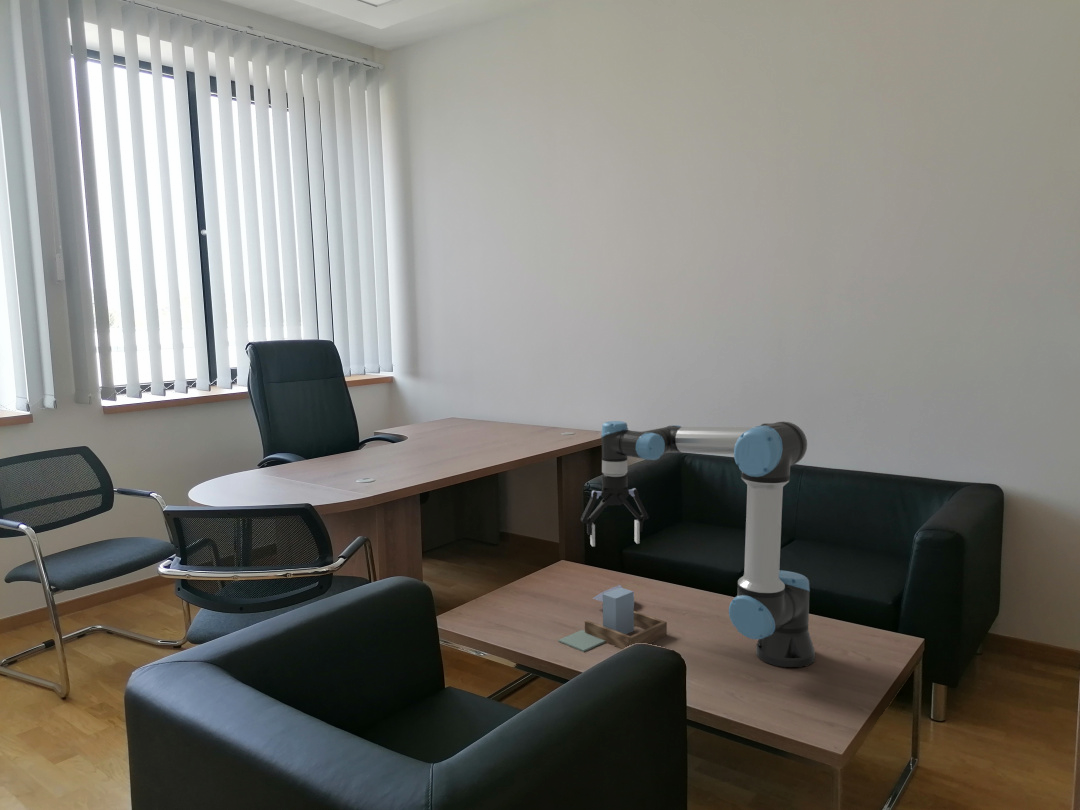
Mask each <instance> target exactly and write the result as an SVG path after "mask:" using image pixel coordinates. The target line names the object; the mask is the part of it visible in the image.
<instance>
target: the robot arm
mask: <svg viewBox="0 0 1080 810" xmlns="http://www.w3.org/2000/svg"><path fill="white" fill-rule="evenodd" d="M600 438H601V473H602V474H601V489H600V490H601V491H599V490H598V491H597V490H594V489H591V492H590V497H589V501H587V505H586V507H585V509H584V511H583V513H582V515H581V517H580V521H581V522H582V523H583V524H586V533H587V535H588V536H589V539H590V541H589V542H590V545H591V547H596V524H594V522H595V521H596V520H597V518H598V517H599V516H600V515H601V514H602V512H603V511H604V510H605V509H606V508H607V507H608V506H612V507H613V506H621V505H622V504H623V505H624V506H625V507H626V508H627V509H628V511H629V512H631V513H632V515H633V516H634V518H636V519H634V521H633V522H634V537H633V539H634V542H635V543H636V544H637V545H638V544H640V543H641V542H640V541H641V540H640V532H641V533H642V532H643V528H644V527H643V525H644V521H645V520H649V519H650V515H648V512H647V510H646V508H645V506H644V504H643V502H642V500H641V499H640V495H639V490H638V489H637V488H636V487H632V488H631V489H628V483H629V482H628V475H627V473H628V457H630V458H638V459H642V460H645V461H648V460H650V461H651V460H652V461H656V460H659V459H661V458H660V457H661V456H663V455H664V454H668V453H677V454H678V453H681V454H682V453H687V454H690V453H691V454H714V455H715V454H716V455H733V458H734V461H735V464H736V465H737V466H738V469H739V470H740V471H741V480H742V481H743V482H744V483H745V484H746V485H747V486H746V487H747V488H746V490H747V491H746V510H745V511H746V512H745V513H746V514H745V516H746V518H745V520H746V521H745V541H744V542H745V545H744V570H743V571H744V572H743V573H744V574H743V576H741V577H739V579H738V580H737V595H736V596H735V597H734V598H733V599H732V600H731V601H730V603H729V607H728V615H729V619H730V621H731V624H732V625H733V627H735V628H736V630H737V632H739V633H740V634H741V635H742V636H744V637H745V638H748V639H751V640H757V643H756V646H755V647H756V650H755V654H756V656H757V658H758V659H759V660H761V661H763V662H764V663H766V664H769V665H771V664H772V666H775V667H779V666H780V667H779V668H786V667H799V668H802V667H801V666H805V667H807V666H806V665H808V664H810V665H812V664H813V663H814V662H815V657H816V651H815V647H814V645H813V641H812V638H811V635H810V632H809V620H810V619H809V618H810V613H809V612H810V592H811V589H810V580H809V579H808V577H806V576H805V575H803V574H801V573H798V572H795V571H789V570H782V569H781V570H780V565H781V564H780V562H781V561H780V559H781V539H782V538H781V537H782V517H783V516H782V514H783V513H782V511H783V496H784V495H783V493H784V492H783V491H784V490H783V489H784V486H786V485H787V484H788V483H789V482H790V479H791V475H790V474H791V466H794V465H797V463H799V462H800V461H801V460H802V459H803V458H804V456H805V455H806V453H807V450H808V440H807V436H806V434H805V432H804V431H803V429H802V428H801V427H799V426H798V425H797V424H795V423H793V422H789V421H777V422H774V423H773V422H771V423H761V424H760V425H758V426H754V427H751V426H750V427H749V426H747V427H746V426H736V427H735V426H681V425H673V424H672V425H668V426H665V427H664V426H663V427H660V428H654V429H649V430H644V431H637V430H629V428H628V423H627V422H625V421H620V420H612V421H610V420H609V421H605V422H604V423H603V424H602V427H601V436H600ZM629 495H630V496H631V497H633V500H634V502H635V504H636V505H637V507H638V510H639V512H640V514H641V515H640V514H639V512H638V511H636V509H635V508H634V507H633V505H631V503H630V502H629V501H628V500H627V498H628V496H629ZM600 496H601V498H602V499H601V500H600V502H599V504H598V505H597V506H596V508H595V509H594V506H595V505H596V502H597V500H598V499H599V497H600ZM593 509H594V510H593ZM813 661H814V662H813ZM812 662H813V663H812ZM811 663H812V664H811ZM782 666H783V667H782ZM808 666H809V665H808Z"/></svg>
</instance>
